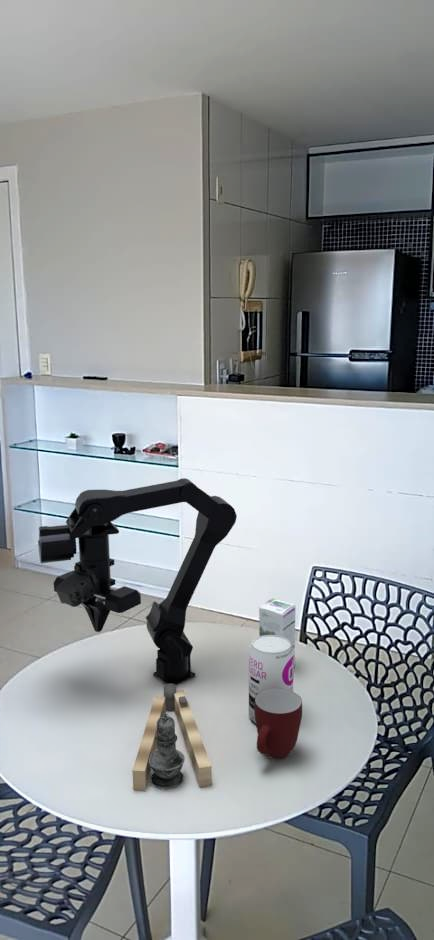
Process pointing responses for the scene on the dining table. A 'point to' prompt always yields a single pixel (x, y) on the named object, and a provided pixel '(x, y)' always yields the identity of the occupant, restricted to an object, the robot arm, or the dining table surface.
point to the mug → (277, 721)
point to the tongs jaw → (147, 745)
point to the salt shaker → (166, 756)
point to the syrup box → (278, 620)
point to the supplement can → (269, 666)
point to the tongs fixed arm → (189, 733)
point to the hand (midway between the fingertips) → (98, 631)
